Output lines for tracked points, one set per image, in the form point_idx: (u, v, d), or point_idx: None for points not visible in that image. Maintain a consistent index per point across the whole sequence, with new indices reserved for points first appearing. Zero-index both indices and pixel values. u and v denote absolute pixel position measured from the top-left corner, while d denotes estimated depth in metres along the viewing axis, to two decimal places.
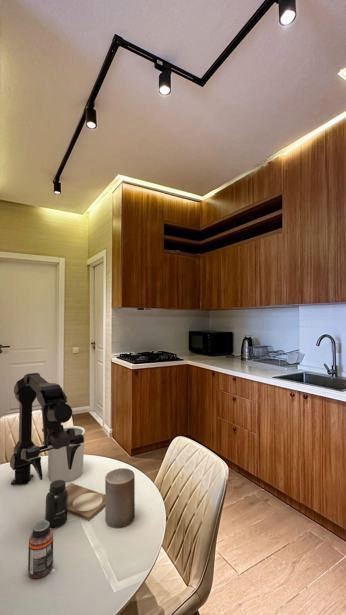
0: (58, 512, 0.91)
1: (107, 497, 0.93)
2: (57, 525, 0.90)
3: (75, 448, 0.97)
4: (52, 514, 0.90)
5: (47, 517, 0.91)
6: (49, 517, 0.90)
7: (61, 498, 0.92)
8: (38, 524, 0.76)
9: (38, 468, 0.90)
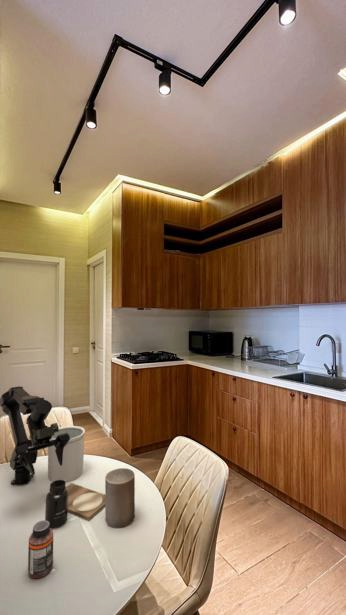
0: (58, 512, 0.91)
1: (107, 497, 0.93)
2: (57, 525, 0.90)
3: (62, 444, 1.06)
4: (51, 514, 0.90)
5: (47, 517, 0.91)
6: (49, 517, 0.90)
7: (61, 498, 0.92)
8: (37, 524, 0.76)
9: (29, 463, 0.97)
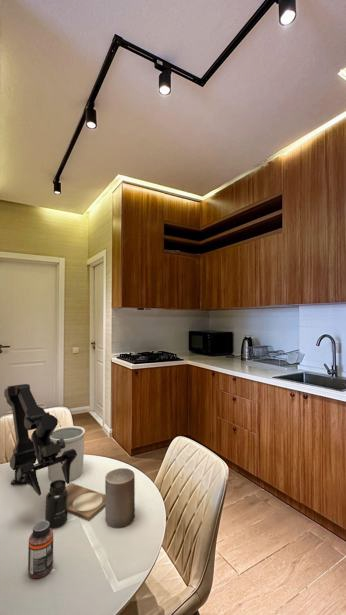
0: (58, 512, 0.91)
1: (107, 497, 0.93)
2: (57, 525, 0.90)
3: (69, 461, 1.02)
4: (51, 514, 0.90)
5: (47, 517, 0.91)
6: (49, 517, 0.90)
7: (61, 498, 0.92)
8: (38, 524, 0.76)
9: (35, 482, 0.93)
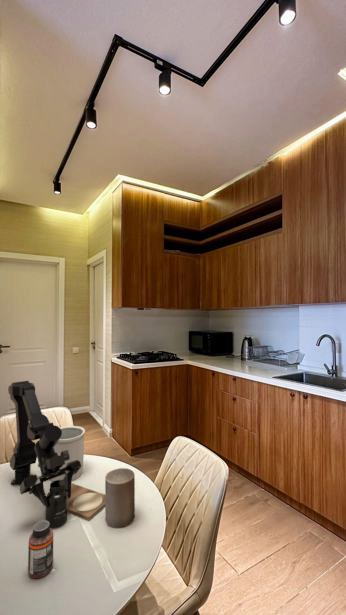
0: (58, 512, 0.91)
1: (107, 497, 0.93)
2: (57, 525, 0.90)
3: (70, 474, 0.98)
4: (51, 514, 0.90)
5: (47, 517, 0.91)
6: (49, 517, 0.90)
7: (61, 498, 0.92)
8: (38, 524, 0.76)
9: (42, 495, 0.91)
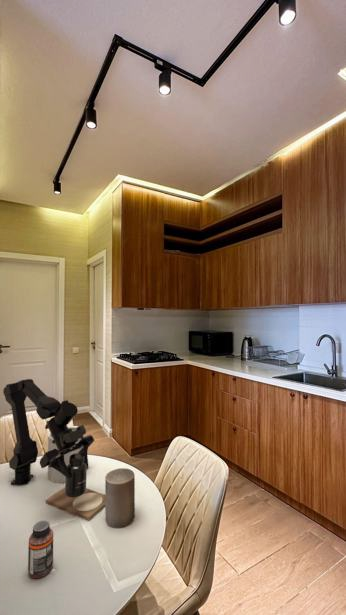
0: (79, 481, 0.96)
1: (107, 497, 0.93)
2: (79, 494, 0.96)
3: (86, 447, 1.04)
4: (74, 483, 0.95)
5: (68, 487, 0.95)
6: (71, 487, 0.95)
7: (82, 468, 0.97)
8: (38, 524, 0.76)
9: (64, 467, 0.95)
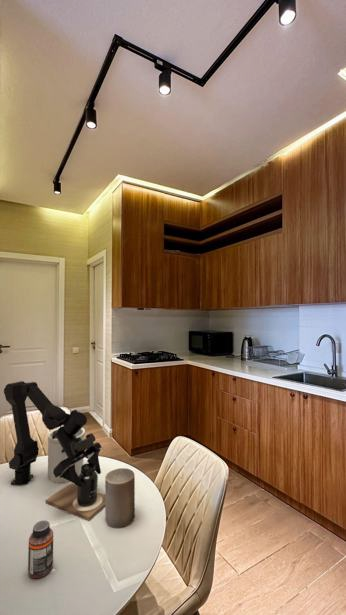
0: (92, 490, 1.00)
1: (107, 497, 0.93)
2: (92, 502, 1.00)
3: (97, 453, 1.09)
4: (87, 493, 0.99)
5: (82, 497, 0.99)
6: (84, 496, 0.99)
7: (95, 478, 1.01)
8: (38, 524, 0.76)
9: (75, 476, 0.98)
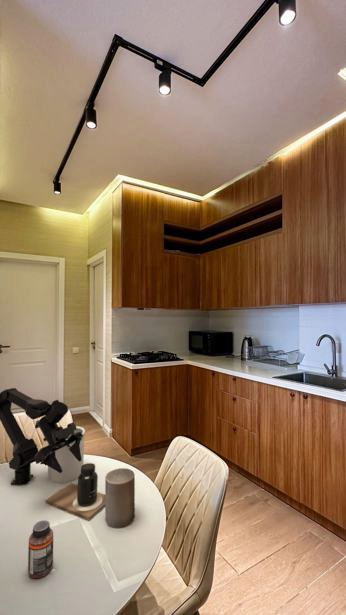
0: (92, 490, 1.00)
1: (107, 497, 0.93)
2: (92, 502, 1.00)
3: (78, 441, 1.13)
4: (87, 493, 0.99)
5: (82, 497, 0.99)
6: (84, 496, 0.99)
7: (94, 478, 1.01)
8: (38, 524, 0.76)
9: (55, 462, 1.02)
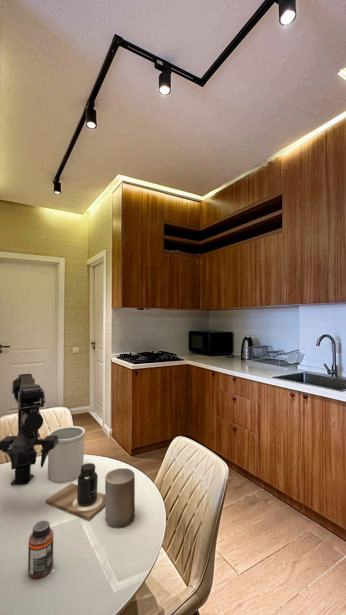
0: (92, 490, 1.00)
1: (107, 497, 0.93)
2: (92, 502, 1.00)
3: (44, 452, 1.00)
4: (87, 493, 0.99)
5: (82, 497, 0.99)
6: (84, 496, 0.99)
7: (94, 478, 1.01)
8: (38, 524, 0.76)
9: (11, 458, 1.01)
